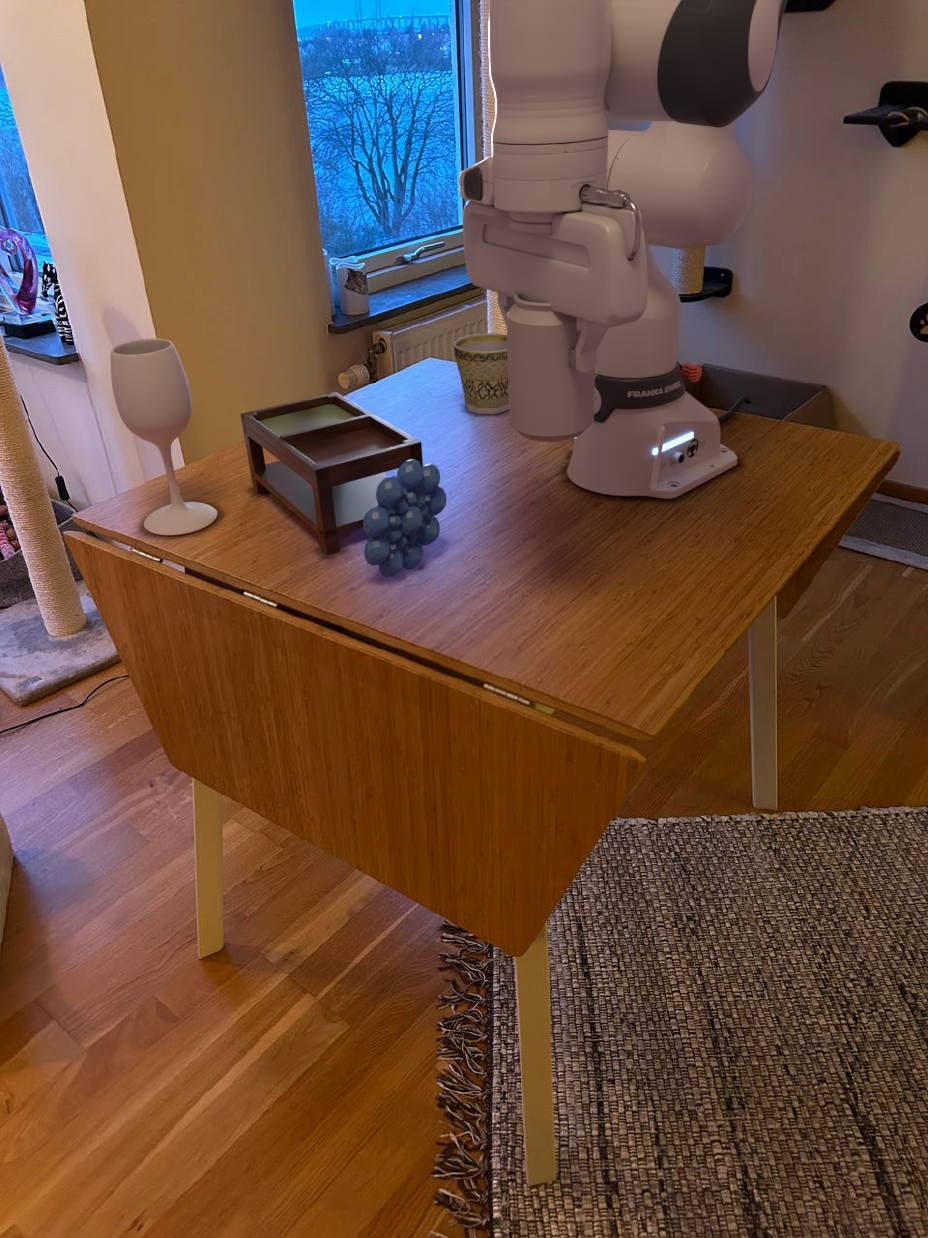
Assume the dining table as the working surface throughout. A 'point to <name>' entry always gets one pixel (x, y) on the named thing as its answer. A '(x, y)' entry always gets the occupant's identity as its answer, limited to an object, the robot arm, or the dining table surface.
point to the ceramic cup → (484, 372)
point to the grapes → (404, 518)
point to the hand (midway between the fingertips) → (549, 357)
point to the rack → (325, 460)
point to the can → (546, 374)
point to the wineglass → (158, 420)
